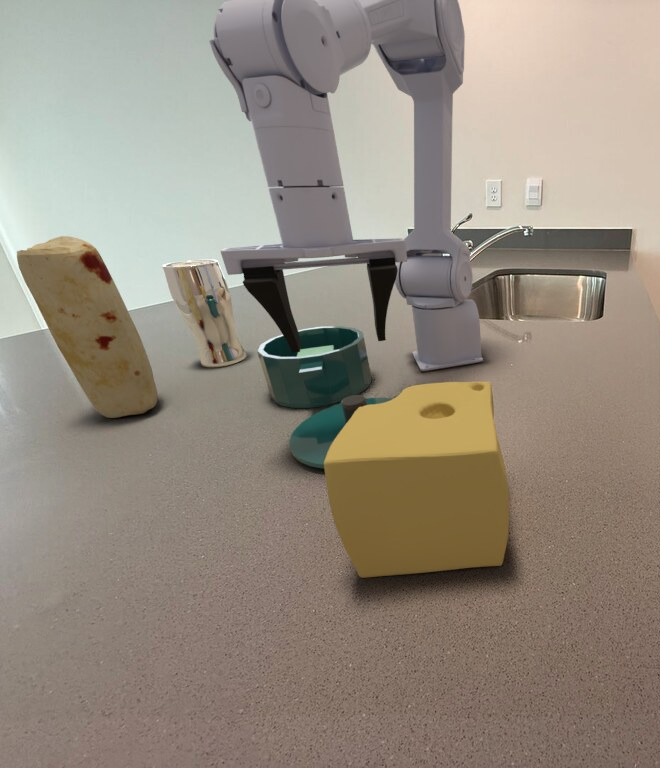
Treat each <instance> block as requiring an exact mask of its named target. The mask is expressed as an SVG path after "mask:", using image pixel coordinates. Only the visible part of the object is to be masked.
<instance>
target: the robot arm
mask: <svg viewBox="0 0 660 768" xmlns="http://www.w3.org/2000/svg"><path fill="white" fill-rule="evenodd" d="M217 10H218V11H219V12H220V13H216V16H215V20H214V24H213V39H209V45H210V49H211V51H212V54H213V56H214V58H215V61H216V62H217V64H218V66H219V68H220V70H221V71H222V72H223V74H224V76H225V77H226V78H227V80H228V81H229V82H230V84H231V86H232V87H233V89H234V91H235V93H236V95H237V98H238V102H239V107H240V111H241V112H242V113H244V115H245V118H246V120H247V121H248V122H251V125H252V129H253V133H254V137H255V141H256V145H257V149H258V152H259V157H260V161H261V166H262V169H263V173H264V177H265V181H266V186H267V188H268V193H269V197H270V201H271V205H272V209H273V213H274V217H275V221H276V225H277V230H278V233H279V238H280V241H281V243H273V244H261V245H250V246H249V245H248V246H236V247H225V248H223V249H221V250H220V252H219V253H220V254H221V258H222V261H223V264H224V267H225V270H226V274H227V275H228V276H232V275H233V276H234V275H242V274H243V281H242V284H243V286H244V288H245V289H246V291H247V292H248V293H249V294H250V295H251V296H252V297H253V298H254V299H255V300H256V301H257V302H258V304H259V305H261V307H262V308H263V309H264V310H265V311H266V313H267V314H268V315H269V317H270V318H271V319H272V320H273V322H274V323H275V325H276V326H277V328H278V329H279V330H280V333H281V335H283V336H284V338H285V339H286V341H287V343H288V345H289V348H290V350H291V352H292V353H295V352H300V349H301V341H300V336H299V333H298V327H297V323H296V320H295V318H294V314H293V311H292V308H291V304H290V299H289V295H288V291H287V290H288V289H287V285H286V280H285V279H286V278H285V276H284V275H285V274H284V270H295V269H308V268H309V269H310V268H322V267H323V268H324V267H337V266H349V265H363V264H366V270H367V275H368V276H367V277H368V282H369V287H370V291H371V292H370V293H371V298H372V305H373V317H374V327H375V335H376V337H377V341H378V342H384V341H386V340H387V339H386V323H387V322H386V321H387V316H388V315H387V314H388V309H389V304H390V300H391V295H392V292H393V288H394V286H395V287H396V289H397V291H398V293H399V295H400V296H401V297H402V298H403V299H405V300H406V305H407V306H411V309H412V319H413V326H414V335H415V343H416V350H413V351H412V356H413V357H414V360H415V362H416V364H417V366H418V369H419V370H420V371H421V372H429V371H434V370H440V369H446V368H453V367H458V366H464V365H470V364H476V363H477V364H478V363H482V362H484V358H483V357H482V356H483V355H482V339H481V338H482V337H481V321H480V314H479V310H478V306H477V304H476V302H475V300H473V299H470V298H469V299H468V297H469V296H470V294H471V292H472V288H473V282H474V281H473V268H472V265H471V252H470V248H469V247H468V245H467V244H466V243H465V242H464V241H463V240H461V239H460V238H459V236H457V235H455V234H454V233H453V232H452V181H453V180H452V176H453V174H452V172H453V171H452V170H453V111H454V110H453V109H454V107H453V106H454V94H455V92H456V91H457V90H458V89H459V88H460V87H461V86H462V85H463V84H464V72H465V43H466V42H465V41H466V39H465V36H466V35H465V27H464V23H463V16H462V11H461V7H460V3H459V0H227V1H224V2H223V3H222V4H221V5H220V6H219V7H218V9H217ZM372 46H373V48H374V51H376V53H377V55H378V56H379V59H380V60H381V62H382V64H383V65H384V67H385V69H386V71H387V73H388V74H389V76H390V78H391V80H392V81H393V83H394V85H395V87H396V88H397V89H398V90H399V91H400V92H401V93H404V94H406V95H407V96H409V97H411V99H412V101H413V229H412V231H411V232H410V233H408V235H407V236H405V238H402V237H398V238H369V239H368V238H367V239H354V238H353V231H352V226H351V220H350V215H349V209H348V204H347V197H346V192H345V191H346V190H345V187H344V179H343V175H342V168H341V164H340V163H341V162H340V157H339V153H338V147H337V141H336V136H335V130H334V125H333V119H332V114H331V108H330V102H329V96H328V93H330V94H335V93H336V91H337V89H338V86H339V82H340V77H341V75H343V74H345V73H347V72H350V71H352V70H353V69H355V68H356V67H358V66H360V65H362V64H363V63H365V62H366V60H367V59H368V57H369V55H370V53H371V49H372ZM427 254H434V255H427ZM435 254H436V255H435ZM441 254H442V255H441ZM341 256H342V257H343V256H344V257H343V258H334V257H341ZM330 257H331V258H330ZM332 257H333V258H332ZM319 258H321V259H319ZM323 258H330V259H323ZM299 259H315V260H301V261H299Z"/></svg>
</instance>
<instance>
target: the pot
mask: <svg viewBox="0 0 660 768" xmlns="http://www.w3.org/2000/svg"><path fill="white" fill-rule="evenodd" d="M297 330H298V329H297ZM298 333H299V336H300V341H301V349H307V348H315V347H322V346H330V345H334V349H335V350H334V351H330V352H326V353H322V354H316V355H309V356H302V357H297V354H298V352H295V353H292V352H291V350H290V348H289V345H288V343H287V341H286V339H285V338H284V336H283V334H279V335H277V336H273V337H271V338H269V339H267V340H266V341H264V342H263V343H260V344H259V347H258V349H257V350H256V353H257V355H258V359H259V362H260V365H261V369H262V373H263V375H264V378H265V382H266V385H267V388H268V391H269V395H270V396H271V399H272V400H273V402H274V403H275V404H277V405H279V406H281V407H285V408H292V409H312V408H319V407H326V406H329V405H335V404H339V403H341V401H342V400H343V399H344V398H346V397H348V396H352V395H361V393H362V392H365V390H367V389H368V388H369V386H370V385H371V384H372V373H371V368H370V363H369V358H368V352H367V346H366V341H365V336H364V332H363V330H362V331H361V330H360V329H357V328H356V327H351V326H350V327H349V326H342V325H340V326H335V325H334V326H326V325H325V326H323V325H322V326H316V327H309V328H302V329H299V330H298Z"/></svg>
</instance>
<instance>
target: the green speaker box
mask: <svg viewBox="0 0 660 768" xmlns="http://www.w3.org/2000/svg"><path fill="white" fill-rule="evenodd" d="M334 350H335V349H334V345H330V346H322V347H315V348H307V349H300V352H298V354H297V357H302V356H309V355H316V354H322V353H326V352H330V351H334Z"/></svg>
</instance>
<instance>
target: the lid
mask: <svg viewBox="0 0 660 768" xmlns="http://www.w3.org/2000/svg"><path fill="white" fill-rule="evenodd" d="M392 399H394V398H393V397H368V398H367V397H366V396H365V395H362V394H358V395H352V396H348V397H346V398H344V399H343V400H342V401H341V402H340V403H337V404H333V405H332V406H329V407H326V408H324V409H322V410H320V411H318V412H316V413H314V414H312V415H310V416H309V417H307V418H306V419H305V420H303V421H302V422H300V423H299V424H298V425H297V426H296V428H295V429H294V430H293V431H292V433H291V435H290V437H289V440H288V441H289V442H288V446H289V451H290V452H291V454H292V456H293V457H294V458H295V459H296V460H297V461H298V462H300V463H301V464H304V465H306V466H309V467H312V468H317V469H324V461H325V458H326V455H327V452H328V450H329V448H330V446H331V444H332V443H333V441H334V439H335V438H336V437H337V435H338V434H339V433H340V431H341V430H342V429H343V427H344V426H345V425H346V423H347V422H348V421H349V420H350V418H351V417H352V415H353V414H354V412H355V411H356V410H357V409H358V408H359V407H363V406H365V405H370V404H380V403H384V402H388V401H390V400H392Z"/></svg>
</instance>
